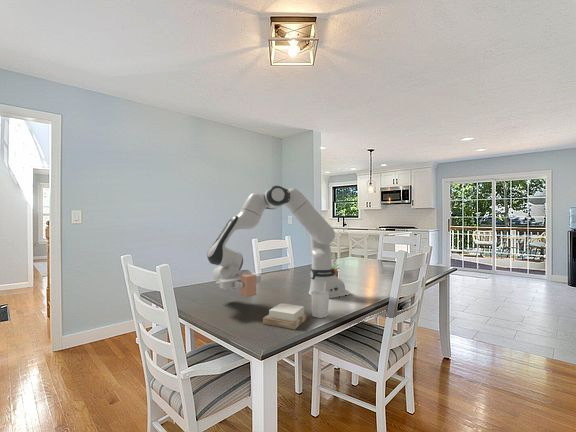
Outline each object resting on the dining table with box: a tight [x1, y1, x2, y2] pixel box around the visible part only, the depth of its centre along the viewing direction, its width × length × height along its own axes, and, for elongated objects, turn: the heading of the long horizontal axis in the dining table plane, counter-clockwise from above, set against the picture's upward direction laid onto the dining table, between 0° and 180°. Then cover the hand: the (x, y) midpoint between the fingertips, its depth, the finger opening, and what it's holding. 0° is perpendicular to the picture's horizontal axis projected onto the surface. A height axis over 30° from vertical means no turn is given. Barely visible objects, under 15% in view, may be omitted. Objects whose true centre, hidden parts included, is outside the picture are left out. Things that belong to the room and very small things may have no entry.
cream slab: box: [268, 302, 305, 322], centre depth 125 cm, size 11×11×3 cm
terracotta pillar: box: [240, 273, 257, 298], centre depth 134 cm, size 5×5×9 cm
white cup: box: [310, 291, 330, 319], centre depth 131 cm, size 8×8×10 cm
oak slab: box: [262, 311, 309, 331], centre depth 125 cm, size 14×14×3 cm
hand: (249, 284), depth 134 cm, fingers closed on terracotta pillar, 5 cm apart
